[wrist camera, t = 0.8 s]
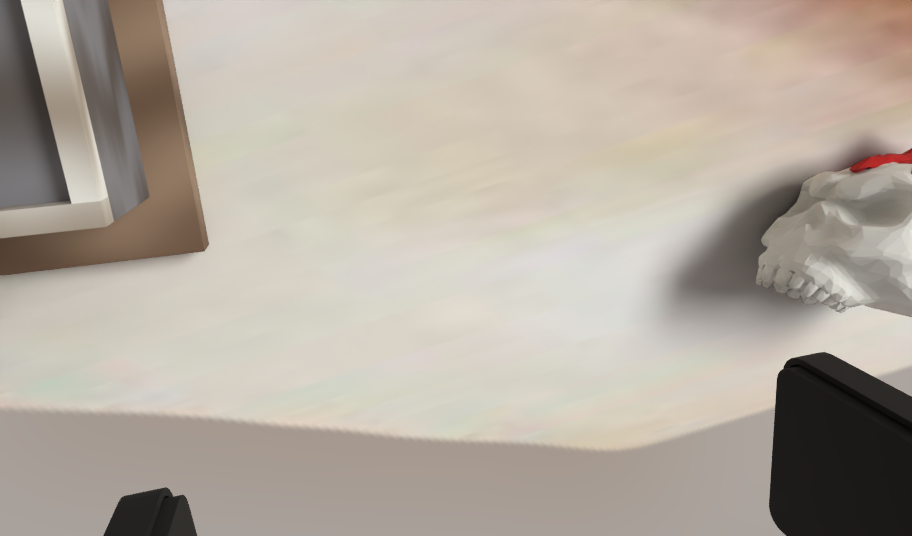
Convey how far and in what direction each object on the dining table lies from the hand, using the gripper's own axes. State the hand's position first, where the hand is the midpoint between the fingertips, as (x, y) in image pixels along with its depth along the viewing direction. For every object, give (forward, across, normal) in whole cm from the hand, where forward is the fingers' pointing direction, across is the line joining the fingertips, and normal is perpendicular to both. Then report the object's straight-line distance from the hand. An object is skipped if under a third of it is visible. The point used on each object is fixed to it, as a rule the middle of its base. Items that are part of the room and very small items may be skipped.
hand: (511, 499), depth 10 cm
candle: (+27, -30, +5) cm, 41 cm away
